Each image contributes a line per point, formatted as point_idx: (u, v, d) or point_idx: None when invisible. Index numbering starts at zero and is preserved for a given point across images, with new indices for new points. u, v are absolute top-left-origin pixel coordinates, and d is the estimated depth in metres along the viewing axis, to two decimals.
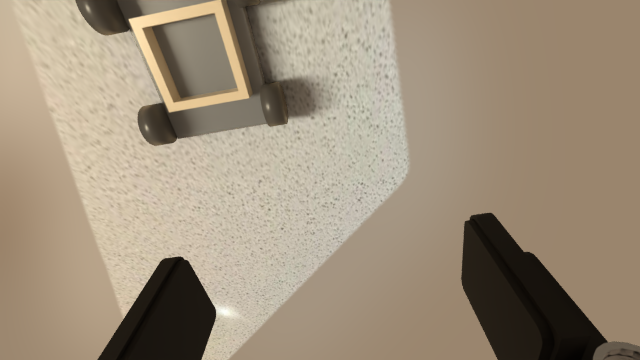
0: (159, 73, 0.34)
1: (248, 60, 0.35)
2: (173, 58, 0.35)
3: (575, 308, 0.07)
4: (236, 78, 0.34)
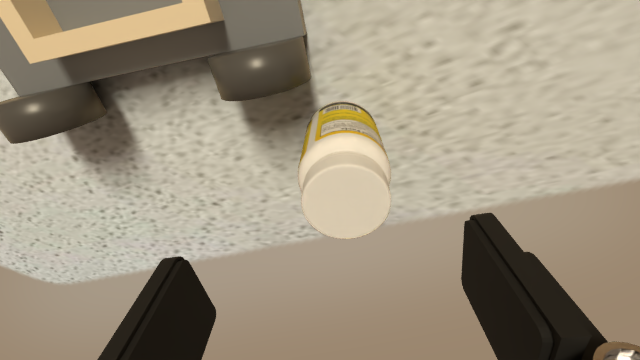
0: None
1: (124, 55, 0.17)
2: None
3: (575, 308, 0.07)
4: (60, 37, 0.15)
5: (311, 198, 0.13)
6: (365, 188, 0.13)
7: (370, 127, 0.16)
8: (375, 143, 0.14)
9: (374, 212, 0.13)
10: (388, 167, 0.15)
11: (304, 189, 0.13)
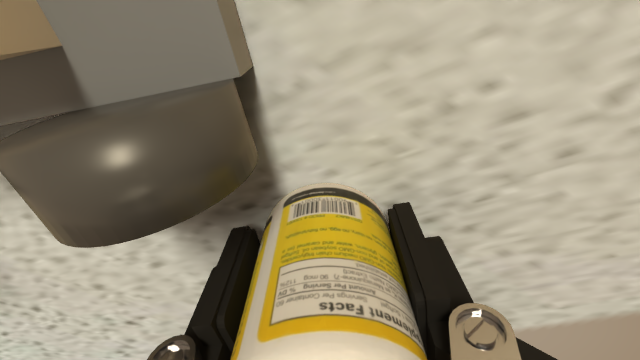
0: None
1: None
2: None
3: (459, 280, 0.08)
4: None
5: None
6: None
7: (383, 269, 0.08)
8: (403, 352, 0.06)
9: None
10: None
11: None
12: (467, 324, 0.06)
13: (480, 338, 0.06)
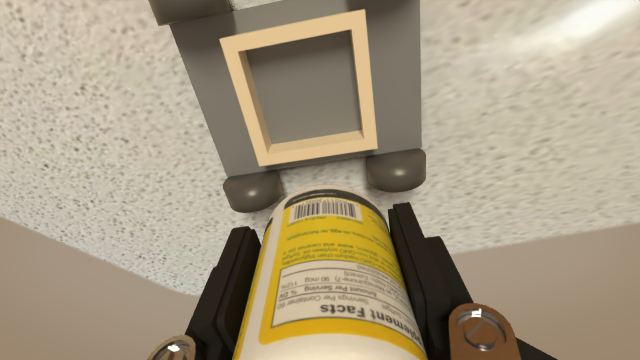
0: (284, 39, 0.21)
1: None
2: (305, 51, 0.23)
3: (459, 280, 0.08)
4: (284, 153, 0.25)
5: None
6: None
7: (384, 271, 0.08)
8: (404, 354, 0.06)
9: None
10: None
11: None
12: (467, 324, 0.06)
13: (481, 337, 0.06)
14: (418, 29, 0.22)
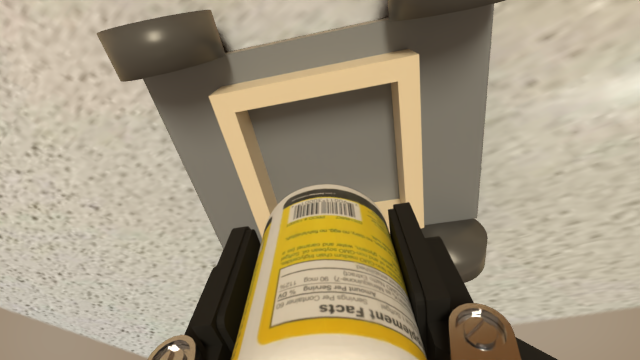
0: (300, 95, 0.14)
1: None
2: (327, 105, 0.17)
3: (459, 280, 0.08)
4: None
5: None
6: None
7: (383, 271, 0.08)
8: (403, 354, 0.06)
9: None
10: None
11: None
12: (467, 324, 0.06)
13: (481, 337, 0.06)
14: (486, 74, 0.16)
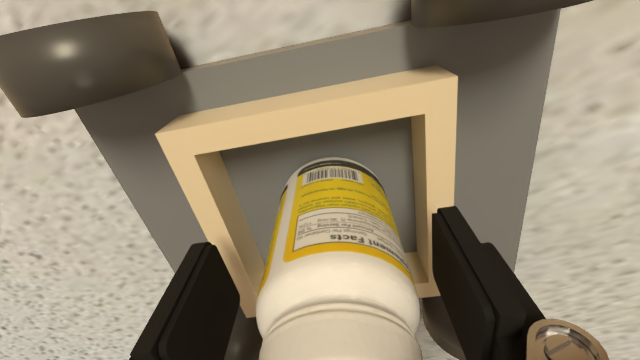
0: (285, 133, 0.10)
1: None
2: (324, 138, 0.12)
3: (523, 291, 0.07)
4: None
5: None
6: None
7: (380, 218, 0.10)
8: (393, 268, 0.08)
9: None
10: (417, 308, 0.08)
11: None
12: (550, 340, 0.06)
13: (565, 357, 0.06)
14: (541, 99, 0.11)
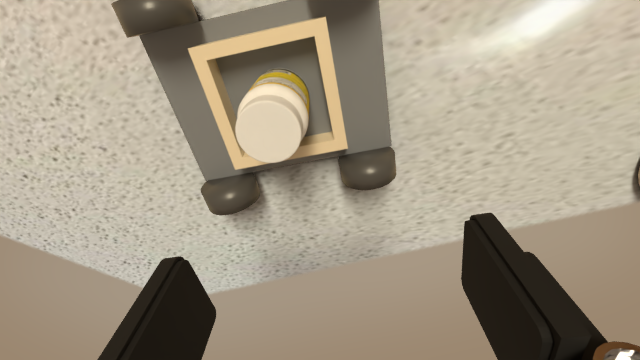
0: (250, 47, 0.21)
1: None
2: (273, 58, 0.24)
3: (575, 308, 0.07)
4: None
5: (242, 129, 0.18)
6: (280, 119, 0.17)
7: (294, 83, 0.21)
8: (292, 91, 0.19)
9: (290, 138, 0.18)
10: (303, 109, 0.19)
11: (236, 122, 0.18)
12: None
13: None
14: (380, 34, 0.23)
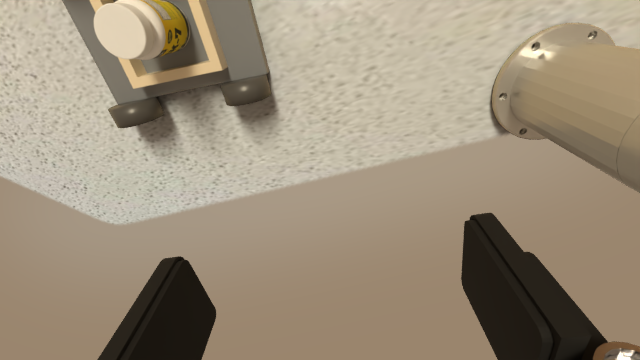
0: None
1: (176, 83, 0.34)
2: None
3: (575, 308, 0.07)
4: (150, 76, 0.31)
5: (99, 28, 0.23)
6: (126, 19, 0.23)
7: (158, 4, 0.26)
8: (146, 4, 0.25)
9: (137, 37, 0.24)
10: (156, 19, 0.25)
11: None
12: None
13: None
14: None
